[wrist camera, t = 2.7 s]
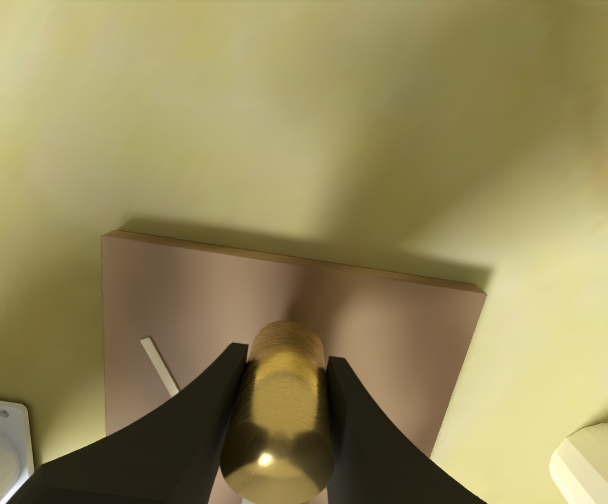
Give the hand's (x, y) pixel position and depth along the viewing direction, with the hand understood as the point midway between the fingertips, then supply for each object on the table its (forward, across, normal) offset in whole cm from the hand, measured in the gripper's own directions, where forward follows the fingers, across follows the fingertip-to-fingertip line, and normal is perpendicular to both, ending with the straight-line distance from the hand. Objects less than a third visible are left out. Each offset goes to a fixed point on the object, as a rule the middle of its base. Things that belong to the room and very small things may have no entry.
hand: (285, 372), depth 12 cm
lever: (+3, 0, +8) cm, 8 cm away
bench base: (+5, 0, +8) cm, 9 cm away
